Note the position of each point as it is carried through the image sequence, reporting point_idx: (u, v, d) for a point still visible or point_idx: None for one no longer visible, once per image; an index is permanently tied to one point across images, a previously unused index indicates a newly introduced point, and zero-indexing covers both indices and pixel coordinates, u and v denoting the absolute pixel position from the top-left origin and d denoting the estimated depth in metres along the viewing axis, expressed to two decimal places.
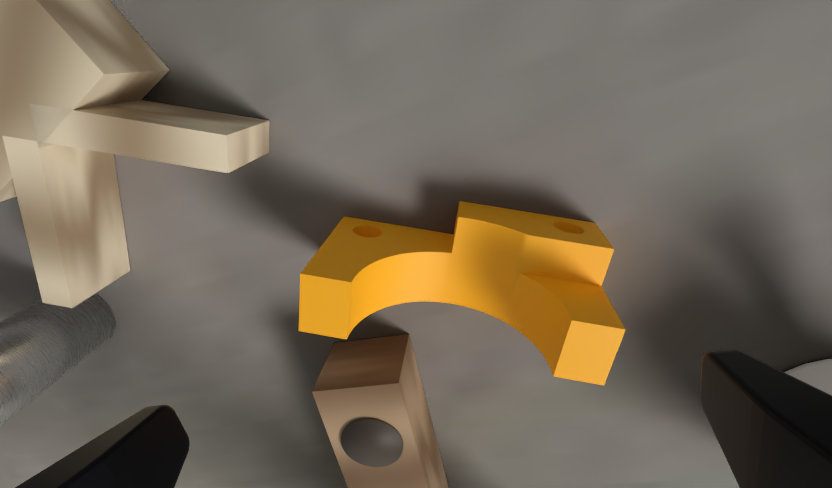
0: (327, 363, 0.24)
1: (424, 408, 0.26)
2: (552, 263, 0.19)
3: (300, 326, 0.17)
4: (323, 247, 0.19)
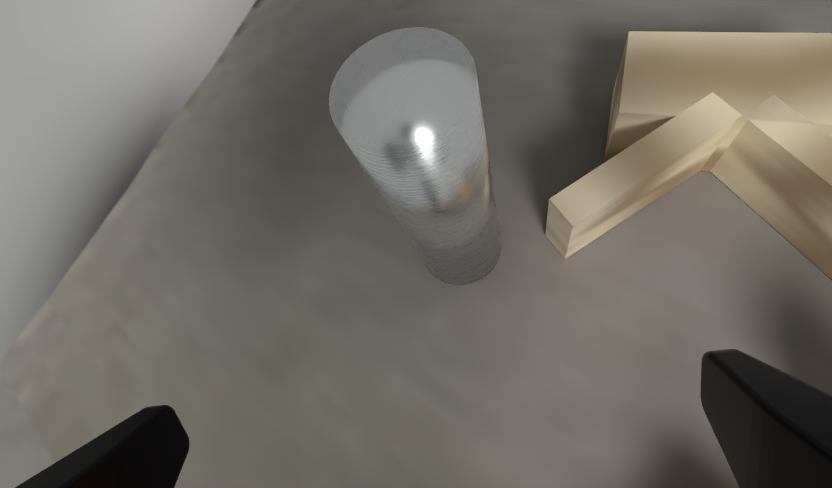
0: None
1: None
2: None
3: None
4: None
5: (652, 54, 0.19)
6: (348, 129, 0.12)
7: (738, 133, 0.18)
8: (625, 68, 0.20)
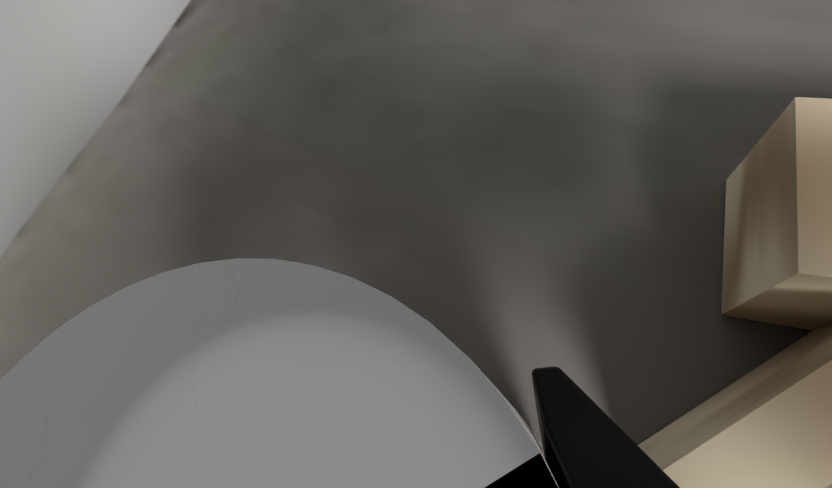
0: None
1: None
2: None
3: None
4: None
5: None
6: None
7: None
8: (799, 175, 0.10)
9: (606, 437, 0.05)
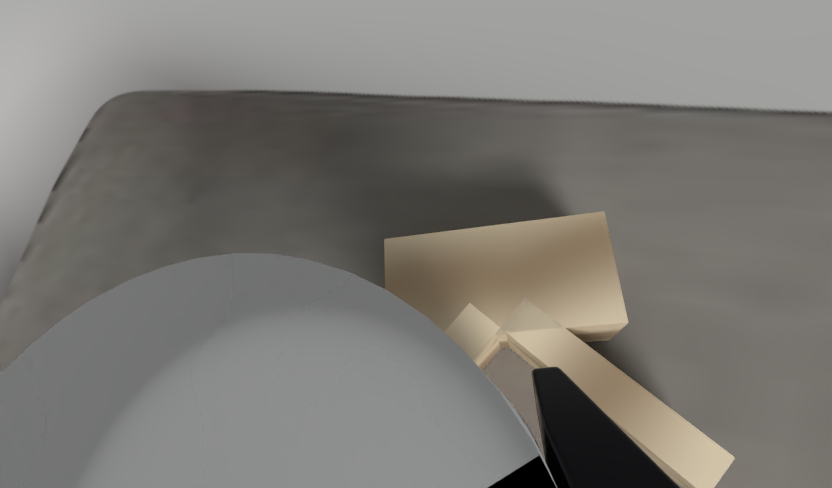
0: None
1: None
2: None
3: None
4: None
5: (409, 264, 0.19)
6: None
7: (506, 336, 0.17)
8: (385, 285, 0.18)
9: (606, 437, 0.05)
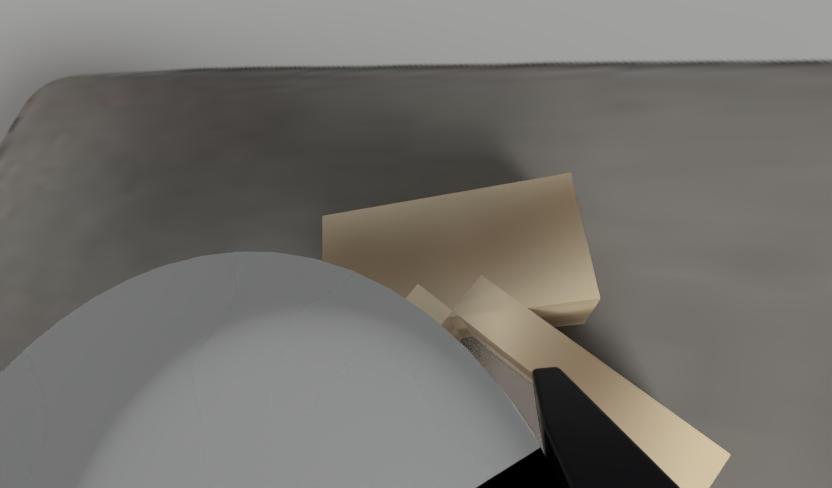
0: None
1: None
2: None
3: None
4: None
5: (349, 243, 0.16)
6: None
7: (462, 322, 0.15)
8: None
9: (606, 437, 0.05)
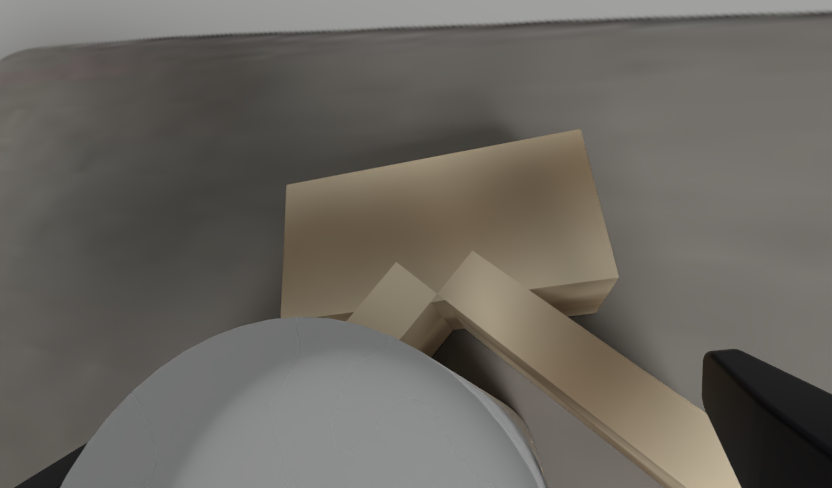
0: None
1: None
2: None
3: None
4: None
5: (317, 215, 0.13)
6: None
7: (450, 308, 0.12)
8: (285, 245, 0.13)
9: None
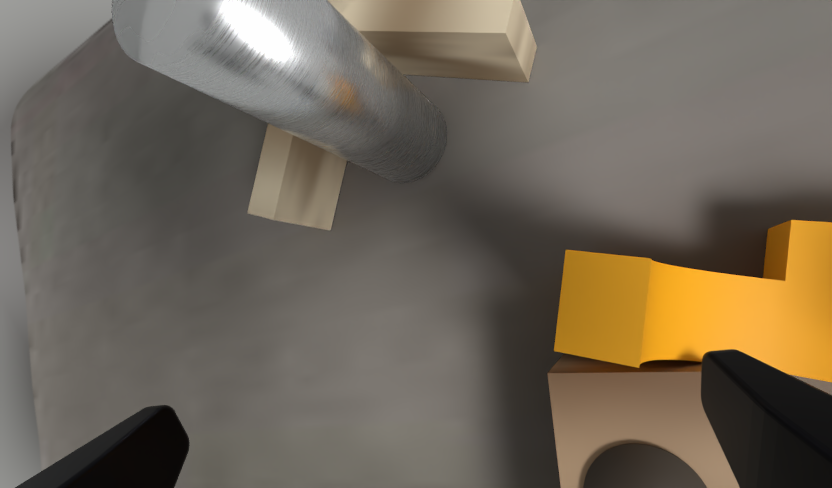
0: (561, 362, 0.15)
1: None
2: None
3: (557, 342, 0.11)
4: None
5: None
6: (142, 54, 0.10)
7: None
8: None
9: None
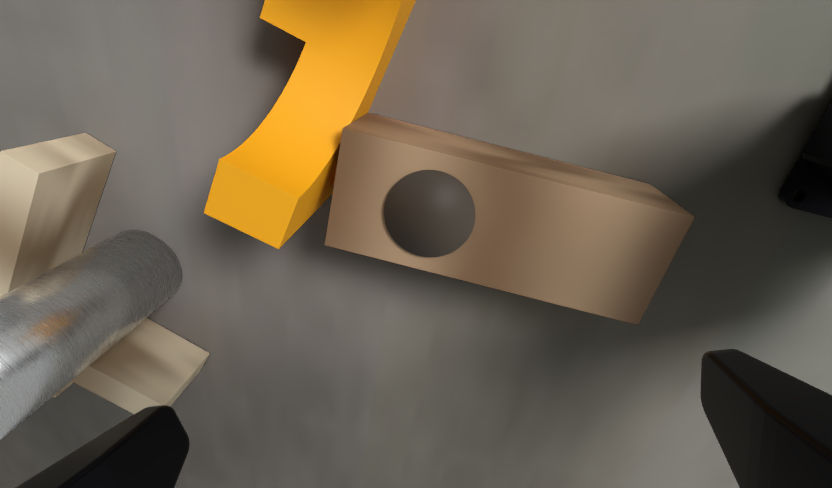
0: None
1: (474, 143, 0.18)
2: None
3: (273, 244, 0.14)
4: None
5: None
6: None
7: None
8: None
9: None
